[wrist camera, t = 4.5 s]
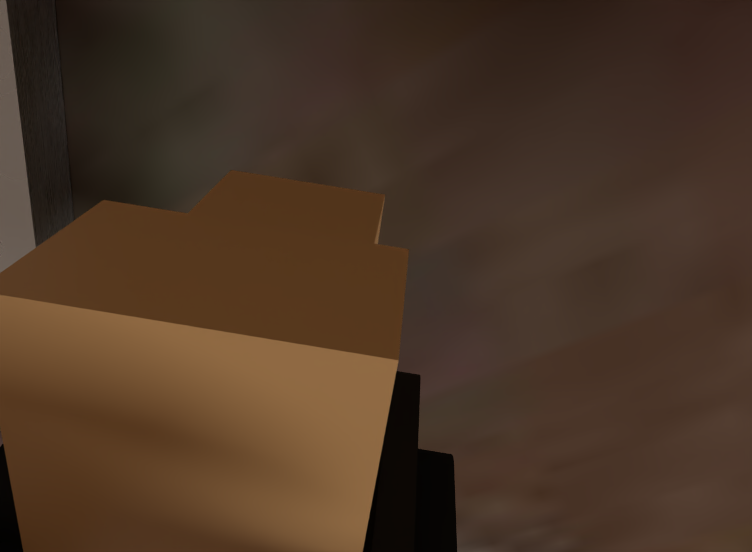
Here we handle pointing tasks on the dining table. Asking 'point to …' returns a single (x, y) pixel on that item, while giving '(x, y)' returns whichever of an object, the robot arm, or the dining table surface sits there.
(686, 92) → the dining table surface
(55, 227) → the grey slotted tray
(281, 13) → the dining table surface
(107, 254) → the tan rectangular block
